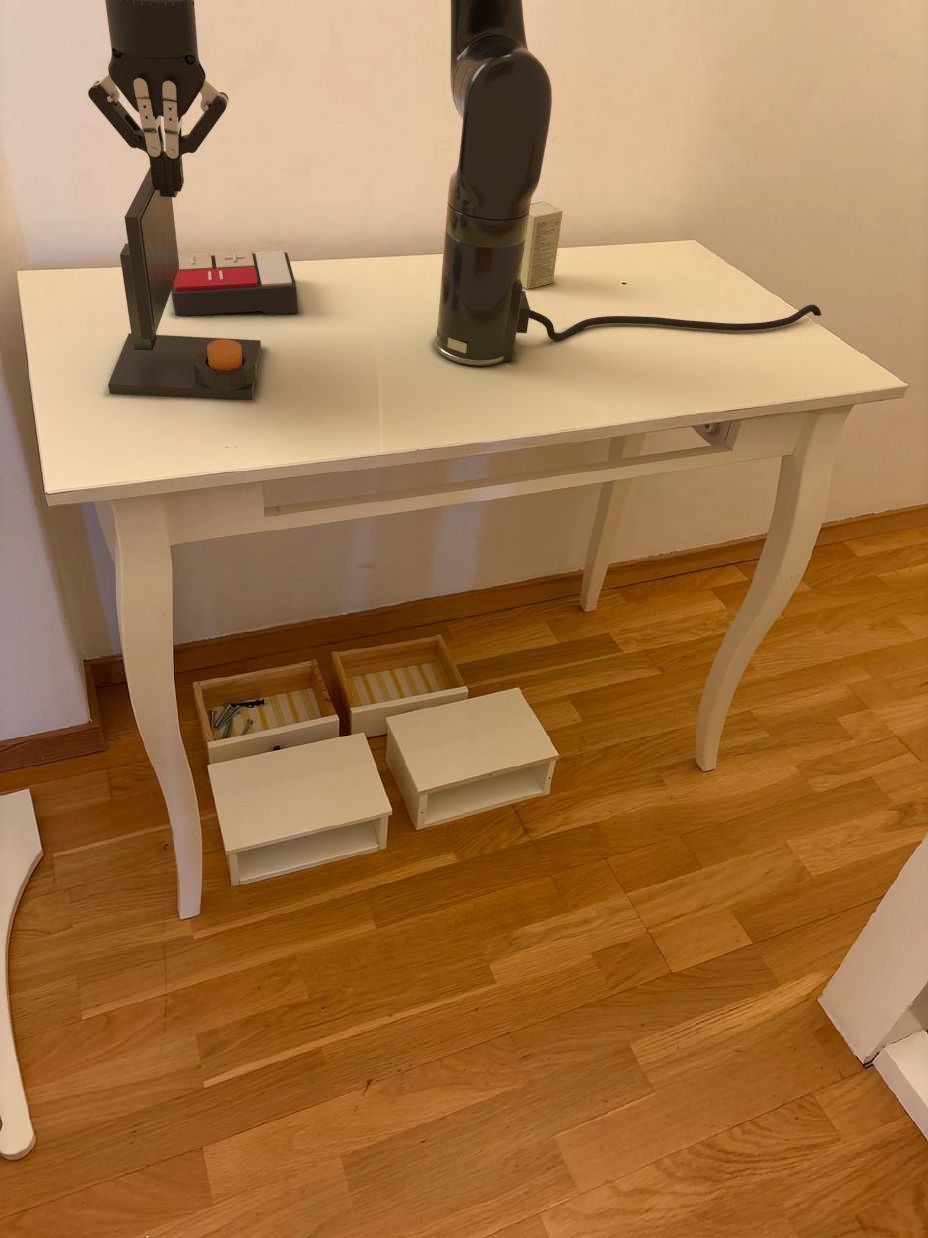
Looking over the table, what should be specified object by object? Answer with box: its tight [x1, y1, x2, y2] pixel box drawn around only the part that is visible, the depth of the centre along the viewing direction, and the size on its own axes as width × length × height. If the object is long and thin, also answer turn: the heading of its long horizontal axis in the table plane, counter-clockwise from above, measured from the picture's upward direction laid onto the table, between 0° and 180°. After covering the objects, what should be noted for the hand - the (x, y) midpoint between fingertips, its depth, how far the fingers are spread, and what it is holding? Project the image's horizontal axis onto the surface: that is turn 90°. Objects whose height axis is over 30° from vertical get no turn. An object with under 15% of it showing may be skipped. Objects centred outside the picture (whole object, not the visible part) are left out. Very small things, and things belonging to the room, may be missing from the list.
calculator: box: [170, 250, 299, 317], centre depth 121 cm, size 11×4×15 cm
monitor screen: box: [124, 167, 179, 340], centre depth 98 cm, size 2×18×12 cm, turn 4°
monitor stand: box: [119, 243, 158, 350], centre depth 101 cm, size 2×3×10 cm, turn 5°
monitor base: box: [107, 332, 262, 401], centre depth 106 cm, size 15×12×3 cm
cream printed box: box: [520, 200, 563, 290], centre depth 132 cm, size 5×4×10 cm
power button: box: [207, 338, 242, 371], centre depth 103 cm, size 4×4×2 cm
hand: (169, 194), depth 95 cm, fingers closed
